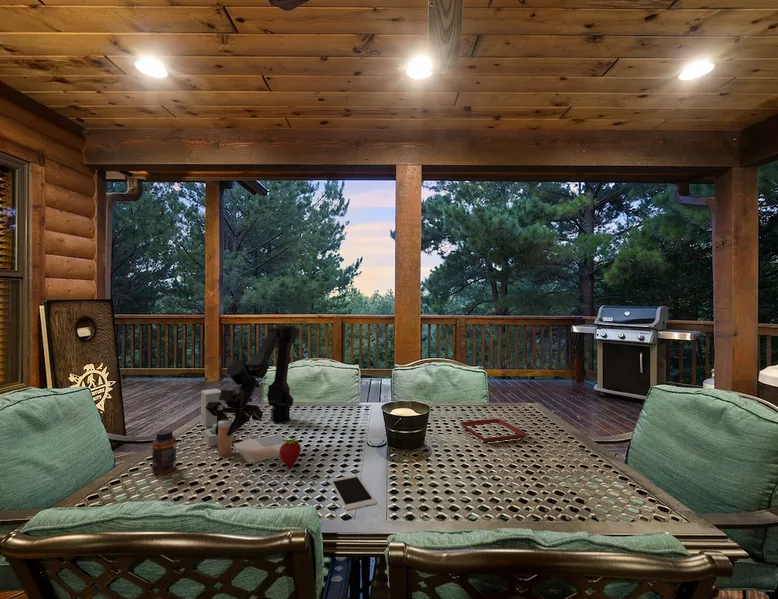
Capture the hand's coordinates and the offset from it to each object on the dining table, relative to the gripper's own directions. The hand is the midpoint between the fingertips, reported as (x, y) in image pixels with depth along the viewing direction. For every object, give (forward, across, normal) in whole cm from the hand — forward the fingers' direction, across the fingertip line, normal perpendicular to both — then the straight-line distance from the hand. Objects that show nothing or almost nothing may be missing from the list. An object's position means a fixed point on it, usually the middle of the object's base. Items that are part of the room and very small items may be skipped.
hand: (222, 435), depth 118 cm
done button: (-4, -9, +10) cm, 15 cm away
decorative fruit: (+6, +25, +3) cm, 26 cm away
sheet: (-2, +10, +11) cm, 15 cm away
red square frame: (-25, +85, +35) cm, 95 cm away
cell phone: (+12, +47, -2) cm, 49 cm away
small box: (-13, -25, +23) cm, 36 cm away
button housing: (-3, -10, +12) cm, 16 cm away
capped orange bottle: (+4, 0, +6) cm, 7 cm away
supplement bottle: (+14, -9, -4) cm, 17 cm away
